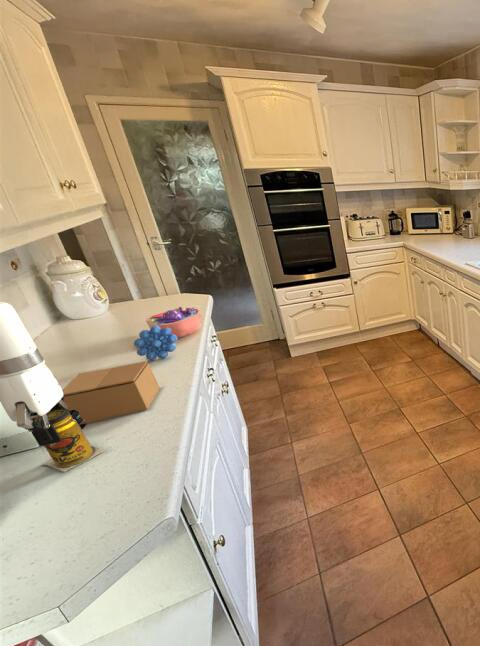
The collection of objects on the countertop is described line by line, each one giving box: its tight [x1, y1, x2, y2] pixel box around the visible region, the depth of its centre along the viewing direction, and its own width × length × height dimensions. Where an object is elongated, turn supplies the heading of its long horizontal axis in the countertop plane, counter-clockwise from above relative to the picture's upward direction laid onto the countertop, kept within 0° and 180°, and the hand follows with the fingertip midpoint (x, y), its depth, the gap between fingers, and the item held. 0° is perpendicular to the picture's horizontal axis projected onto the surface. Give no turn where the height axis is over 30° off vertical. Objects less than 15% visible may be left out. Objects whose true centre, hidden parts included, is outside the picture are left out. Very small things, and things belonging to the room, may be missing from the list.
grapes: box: [133, 326, 178, 361], centre depth 136 cm, size 12×7×12 cm, turn 125°
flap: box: [62, 366, 115, 396], centre depth 105 cm, size 7×13×1 cm, turn 28°
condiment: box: [33, 409, 106, 473], centre depth 88 cm, size 7×8×12 cm
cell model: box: [145, 306, 202, 339], centre depth 155 cm, size 17×20×11 cm
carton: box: [63, 360, 160, 426], centre depth 108 cm, size 15×13×9 cm
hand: (58, 433), depth 87 cm, fingers closed on condiment, 6 cm apart
